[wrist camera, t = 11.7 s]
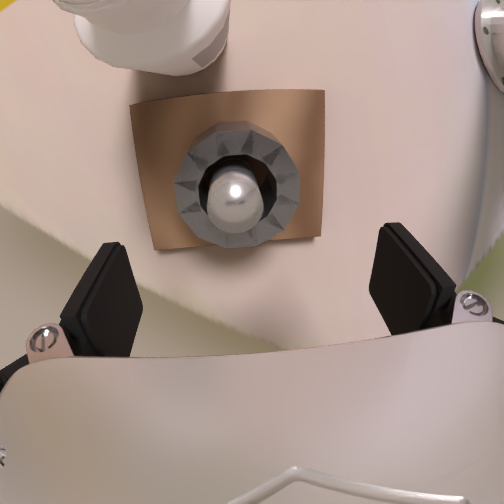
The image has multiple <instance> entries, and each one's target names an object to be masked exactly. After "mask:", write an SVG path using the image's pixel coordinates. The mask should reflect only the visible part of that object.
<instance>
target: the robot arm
mask: <svg viewBox="0 0 504 504" xmlns="http://www.w3.org/2000/svg"><path fill="white" fill-rule="evenodd" d="M475 33H476V39H477V44H478V48H479V51H480V54H481V57H482V60H483V63H484V65H485V67H486V69H487V71H488V73H489V75H490V77H491V78H492V80H493V82H494V83H495V85H496V86H497V87H498V88H499V89H500V91H502V92H503V93H504V0H480V1H479V3H478V4H477V8H476V11H475ZM455 288H456V284H455V283H454V282H453V280H452V279H451V278H450V277H449V276H448V274H447V273H446V272H445V271H444V270H443V269H442V267H441V266H440V265H439V264H438V263H437V262H436V261H435V260H434V258H433V257H432V256H431V255H430V254H429V253H428V252H427V251H426V250H425V248H424V247H423V246H422V245H421V244H420V243H419V242H418V241H417V240H416V239H415V238H414V237H413V236H412V234H411V233H410V232H409V231H408V230H407V229H406V228H405V227H404V226H403V225H402V224H401V223H399V222H397V223H385V224H384V226H383V227H381V228H380V230H379V235H378V241H377V247H376V253H375V258H374V263H373V269H372V274H371V279H370V283H369V292H370V295H371V297H372V299H373V300H374V302H375V304H376V306H377V308H378V310H379V312H380V314H381V315H382V317H383V319H384V321H385V323H386V325H387V327H388V329H389V331H390V333H391V335H392V336H386V337H381V338H375V339H369V340H363V341H356V342H350V343H343V344H336V345H328V346H320V347H312V348H304V349H295V350H285V351H275V352H264V353H252V354H236V355H221V356H220V355H219V356H198V357H130V353H131V349H132V345H133V342H134V339H135V335H136V332H137V328H138V325H139V322H140V318H141V315H142V311H143V305H142V301H141V298H140V295H139V292H138V288H137V285H136V282H135V279H134V276H133V272H132V269H131V266H130V262H129V259H128V255H127V252H126V249H125V247H124V246H123V245H120V243H119V242H111V243H104V244H103V245H102V246H101V248H100V249H99V251H98V252H97V254H96V255H95V257H94V259H93V260H92V262H91V263H90V265H89V267H88V268H87V270H86V271H85V273H84V275H83V276H82V278H81V280H80V281H79V283H78V285H77V286H76V288H75V290H74V291H73V293H72V295H71V297H70V299H69V300H68V302H67V304H66V306H65V307H64V309H63V311H62V313H61V315H60V318H61V321H60V323H59V325H58V324H55V323H48V324H44V325H41V326H39V327H38V328H36V329H35V330H34V331H33V332H32V333H31V334H30V335H29V337H28V339H27V341H26V351H27V354H26V355H24V356H22V357H21V358H19V359H18V360H16V361H14V362H13V363H11V364H10V365H8V366H6V367H5V368H3V369H2V370H0V504H504V321H502V320H499V319H497V318H495V317H492V306H491V304H490V302H489V301H488V300H487V299H486V298H485V297H484V296H482V295H481V294H479V293H477V292H474V291H469V290H464V291H461V292H459V293H458V294H456V293H455V291H454V290H455Z"/></svg>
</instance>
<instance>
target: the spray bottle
mask: <svg viewBox="0 0 504 504" xmlns="http://www.w3.org/2000/svg"><path fill="white" fill-rule="evenodd" d="M53 1H54V2H55V3H56V4H57V5H58V6H59V7H60V8H61V9H62V10H65V11H68V12H70V13H73V14H74V26H75V28H76V31H77V34H78V36H79V39H80V42H81V43H82V45H83V46H84V47H85V48H86V49H87V50H88V51H89V52H90V53H91V54H92V55H93V56H94V57H95V58H96V59H98V60H100V61H102V62H105V63H107V64H109V65H111V66H113V67H117V68H125V69H133V70H140V71H146V72H152V73H158V74H164V75H170V76H184V75H191V74H193V73H196V72H198V71H201V70H203V69H205V68H206V67H208V66H209V65H210V64H211V63H213V62H214V61H215V60H216V59H217V58H218V56H219V55H220V54H221V52H222V51H223V50H224V47H225V44H226V41H227V38H228V30H229V15H230V1H231V0H53Z"/></svg>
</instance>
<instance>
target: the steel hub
mask: <svg viewBox="0 0 504 504" xmlns="http://www.w3.org/2000/svg"><path fill="white" fill-rule="evenodd" d="M241 154H247V155H249V156H251V157H253V158H255V159H258V160H260V161H262V162H264V163H266V178H265V180H264V181H263V183H262V185H261V187H260V189H259V190H260V194H261V197H262V200H263V213H262V216H261V218H260V220H259V221H258V223H257V224H256V225H255V226H254V227H252V228H251V229H249V230H247V231H245V232H241V233H229V232H225V231H222V230H220V229H219V228H217V227H216V226H215V225H214V224H213V223H212V222H211V220H210V218H209V216H208V213H207V201H208V194H209V186H208V184H207V183H206V182H205V177H204V172H205V170H206V168H207V167H209V166H210V165H211V164H213V163H214V162H216V161H217V160H219V159H220V158H222V157H223V156H228V155H241ZM174 190H175V197H176V203H177V209H178V214H179V215H180V217H181V218H182V219H183V220H184V221H185V223H186V224H187V225H188V226H189V227H190V229H191V230H192V231H193V232H194V233H195V235H196V236H197V237H198V238H201V239H203V240H206V241H208V242H211V243H213V244H216V245H218V246H221V247H223V248H226V249H229V248H240V247H252V246H258V245H260V244H262V243H263V242H265V241H267V240H268V239H270V238H272V237H273V236H275V235H277V234H278V233H280V232H282V231H283V230H284V229H285V227H286V226H287V224H288V223H289V221H290V219H291V218H292V216H293V214H294V213H295V211H296V209H297V208H298V206H299V204H300V172H299V171H298V169H297V167H296V166H295V164H294V162H293V161H292V159H291V157H290V156H289V154H288V153H287V151H286V149H285V148H284V146H283V145H282V144H281V143H280V142H279V141H278V140H277V139H276V137H275V136H274V135H273V134H272V133H271V132H269V131H267V130H265V129H263V128H261V127H259V126H257V125H255V124H252V123H250V122H248V121H246V120H244V121H230V122H218V123H216V124H215V125H213V126H212V127H210V128H209V129H207V130H206V131H204V132H203V133H202V134H200V135H199V136H197V137H196V138H195V139H194V140H193V142H192V144H191V146H190V148H189V149H188V151H187V153H186V155H185V158H184V160H183V162H182V164H181V167H180V169H179V171H178V174H177V176H176V178H175V181H174Z"/></svg>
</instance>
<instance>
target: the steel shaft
mask: <svg viewBox="0 0 504 504" xmlns="http://www.w3.org/2000/svg"><path fill="white" fill-rule="evenodd" d="M207 213H208V216H209V218H210V220H211V222H212V223H213V224H214V225H215V226H216V227H217V228H219V229H220V230H222V231H225V232H229V233H241V232H245V231H247V230H249V229H251V228H252V227H254V226H255V225H256V224H257V223H258V221H259V220H260V218H261V216H262V213H263V200H262V197H261V194H260V190H259V187H258V184H257V181H256V178H255V175H254V172H253V169H252V166H251V163H250V162H249V160H248V159H247V158H246V157H245V156H243V155H228V156H223V157H222V158H220V159H219V160H217V161H216V162H214V164H213V167H212V173H211V180H210V187H209V194H208V201H207Z"/></svg>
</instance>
